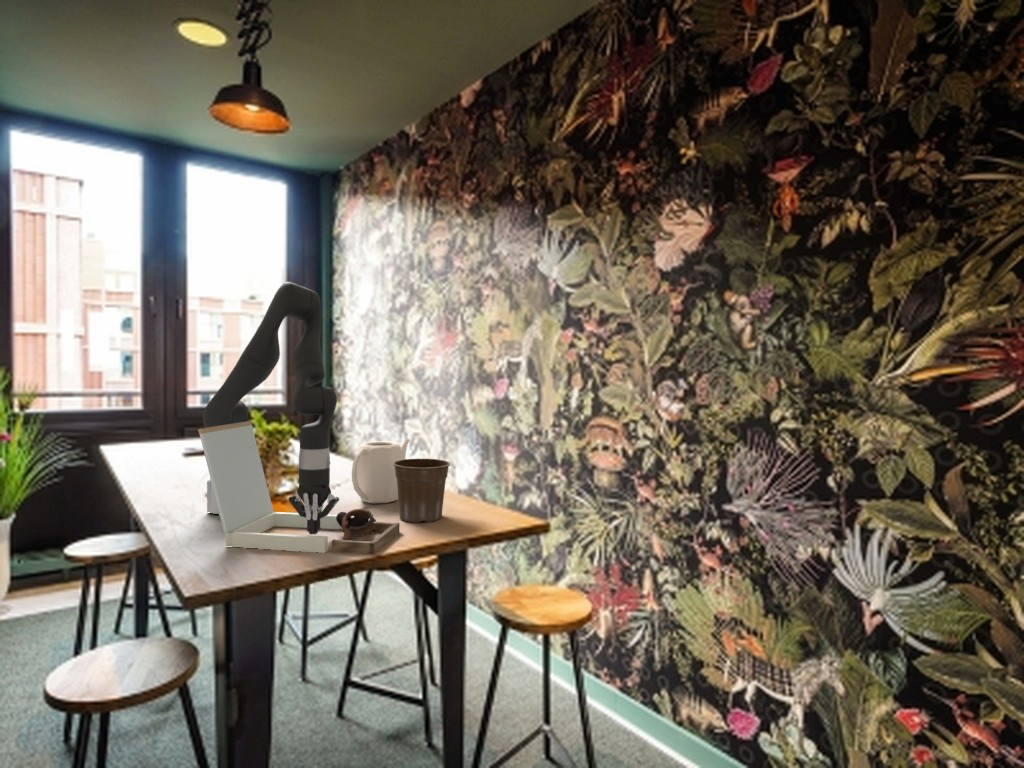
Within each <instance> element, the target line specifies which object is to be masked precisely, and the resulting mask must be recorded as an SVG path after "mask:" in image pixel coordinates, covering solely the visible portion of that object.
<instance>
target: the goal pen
mask: <svg viewBox="0 0 1024 768" xmlns="http://www.w3.org/2000/svg"><path fill="white" fill-rule="evenodd" d="M373 523H374V525H375V528H376V530H373V533H376V532H383V533H379V535H377V536H376V537H375V538H373V539H372V540H371V541H364V540H352V539H350V540H344V539H332V540H331V541H330V544H331V545H330V547H331V548H330V550H331V552H333V553H334V552H335V553H351V554H366V555H367V554H369V555H375V554H376V553H377V552H379V551H380V550H379V549H380V548H381V547H382V548H384V547H385V546H386V545H387V544H388V543H387V542H388V541H389V540H390V541H391V540H392V539H394V536H395V535H396V534H397V533H398V534H399V533H400V522H386V521H385V522H384V521H376V522H373ZM398 534H397V535H398ZM397 535H396V536H397ZM396 536H395V537H396ZM390 541H389V542H390ZM382 548H381V549H382Z"/></svg>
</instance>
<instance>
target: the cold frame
mask: <svg viewBox="0 0 1024 768" xmlns="http://www.w3.org/2000/svg"><path fill="white" fill-rule="evenodd" d="M197 431H198V435H199V437H200V442H201V444H202V449H203V453H204V458H205V460H206V461H205V462H206V465H207V469H208V474H209V476H210V478H211V482H212V486H213V490H214V494H215V498H216V502H217V506H218V510H219V514H220V515H219V517H220V522H221V526H222V530H223V534H225V547H226V546H232V547H245V548H244V549H246V548H258V549H257V550H263V549H271V550H270V551H281V550H286V552H299V551H301V552H302V553H316V552H318V553H319V554H321V553H322V554H326V553H327V552H328V551H329V550H328V540H329V538H328V537H329V536H324V535H312V534H308V535H307V534H291V533H290V534H289V533H271V532H269V533H268V532H267V530H269V529H271V528H274V527H281V528H282V527H284V528H286V527H287V528H301V529H302V528H304V529H307V519H306V518H305V517H301V516H300V515H299V514H298V512H286V511H285V512H283V511H274V509H273V504H272V501H271V499H272V498H271V496H270V492H269V491H270V490H269V488H268V484H267V480H266V476H265V472H264V467H263V465H262V460H261V457H260V456H261V455H260V452H259V448H258V443H257V440H256V436H255V432H254V428H253V423H252V420H248V421H246V422H240V423H234V424H227V425H221V426H215V427H208V428H206V427H204V428H199V429H197ZM210 478H209V479H210ZM336 516H337V514H328V515H327V516H325V517H323V518H321V519H320V528H321V529H322V530H339V529H342V530H341V531H343V528H342V527H341V526H340V525H339V524H338V522H337V520H336ZM353 517H354V516H351V518H353ZM321 529H320V530H321ZM349 529H350V528H349ZM261 532H262V533H261ZM301 552H300V553H301Z"/></svg>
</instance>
